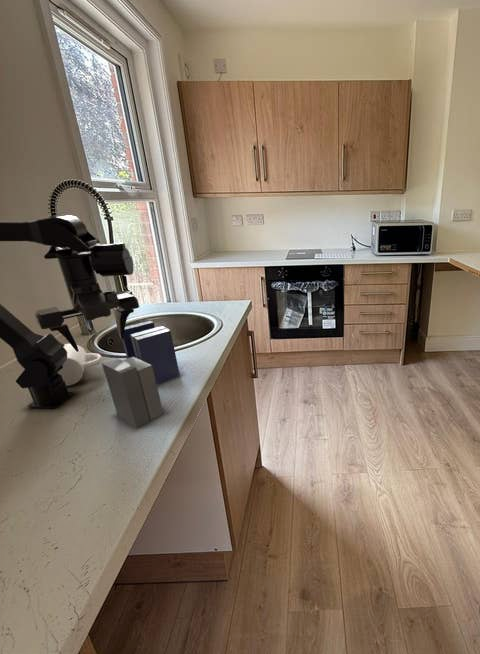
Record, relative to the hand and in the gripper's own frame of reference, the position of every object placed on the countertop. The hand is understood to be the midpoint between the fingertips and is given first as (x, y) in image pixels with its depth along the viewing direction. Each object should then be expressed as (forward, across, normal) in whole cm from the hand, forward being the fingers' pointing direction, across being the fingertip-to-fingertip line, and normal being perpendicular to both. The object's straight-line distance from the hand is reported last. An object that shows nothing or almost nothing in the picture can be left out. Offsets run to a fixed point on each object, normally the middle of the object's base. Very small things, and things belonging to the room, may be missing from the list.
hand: (100, 344), depth 80 cm
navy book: (+13, +10, +7) cm, 18 cm away
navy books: (+13, +11, -1) cm, 17 cm away
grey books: (+13, +1, -14) cm, 19 cm away
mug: (+13, -4, +17) cm, 22 cm away
